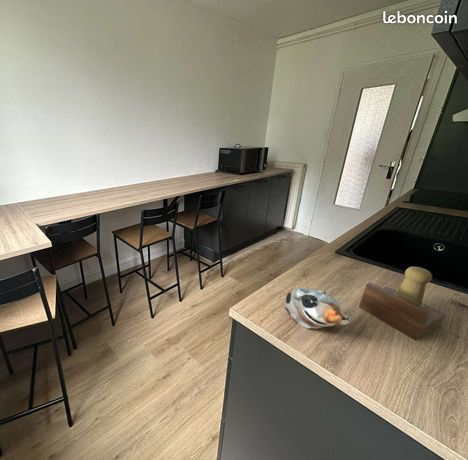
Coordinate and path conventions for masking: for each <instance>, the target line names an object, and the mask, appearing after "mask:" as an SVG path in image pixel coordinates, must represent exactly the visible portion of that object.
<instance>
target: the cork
mask: <svg viewBox="0 0 468 460" xmlns="http://www.w3.org/2000/svg"><path fill="white" fill-rule="evenodd" d="M404 277H405V278H404V280H403V281H402V283H401V284H400V286H399V287H398V288H397V290H396V291H397V292H396V293H395V294H396V295H398V296H400V297H402V298H404V299H406V300H408V301H410V302H412V303H414V304H416V305H418V306H420V307H421V305H422V303H423V300H424V295H425V292H426V287H427V284H428V283H430V282H432V280H433V274H432V273H431V272H430V271H429V270H427V269H425V268H423V267H419V266H409V267H408V268H406V270H405V272H404Z"/></svg>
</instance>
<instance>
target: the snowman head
mask: <svg viewBox="0 0 468 460" xmlns="http://www.w3.org/2000/svg"><path fill="white" fill-rule="evenodd" d="M284 310H286V311H287V313H288V315H289V319H290V320H292V321H293V322H295V323H296V324H298V325H300V326H301V327H303V328H305V329H314V330H317V329H321V328H327V327H333V326H334V327H336V326H346V325H347V324H350V323H352V317H350V316H349V315H348V314H344V313H342V310H341V305H340V303H339V302H338V301H337V300H336V299H335V298H334V297H332V296H330V295H328V294H327V292H326V290H325V289H324V288H323V289H316V288H302V287H292V288H291V289H290V290H289V291H288V292H287V294H286V296H285V303H284Z"/></svg>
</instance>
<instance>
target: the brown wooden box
mask: <svg viewBox="0 0 468 460" xmlns="http://www.w3.org/2000/svg"><path fill="white" fill-rule="evenodd" d="M396 292H397V290H395V289H394V288H391V287H389V286H387V285H386V286H383V287H381V286H379V285H377V284H375V283H373V282H370V281H368V282H366V284H365V288H364V290H363V293H362V296H361V299H360V302H359V304H358V308H359V309H362V310H363V311H364V312H366V313H368V314H369V315H370V316H373V317H375V318H376V319H378V320H380V321H381V322H383V323H385V324H387V325H389V326H390V327H392V328H394V329H395V330H397V331H399V332H400V333H402V334H404V335H406V336H407V337H409V338H411V339H412V340H414V341H417V340H419V339H420V338H422V337H424V336H425V335H427V334H429V333H431V332H432V331H434V330H436V329H437V328H439V327H441V325H442V323H443V322H444V319H445V318H446V315H447V314H446V313H444V312H443V311H440V310H439V309H436V308H434V307H432V306H430V305H427V304H425V303H423V302H422V305H421V307H420V306H418V305H416V304H414V303H412V302H410V301H408V300H406V299H404V298H402V297H400V296H398V295H396V294H395V293H396Z"/></svg>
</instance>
